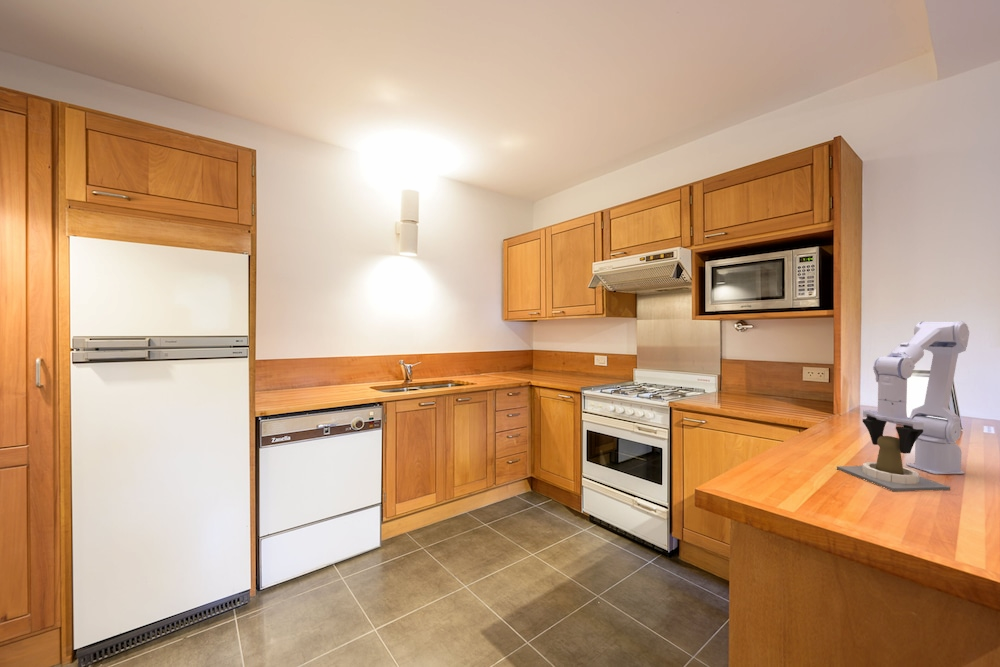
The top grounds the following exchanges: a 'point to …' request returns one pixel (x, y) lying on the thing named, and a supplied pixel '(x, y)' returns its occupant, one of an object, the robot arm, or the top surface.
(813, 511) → the top surface
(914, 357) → the robot arm
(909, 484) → the ring stand
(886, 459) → the cork
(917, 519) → the top surface
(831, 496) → the top surface
